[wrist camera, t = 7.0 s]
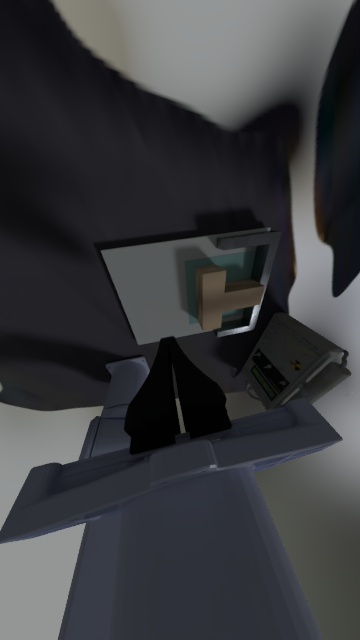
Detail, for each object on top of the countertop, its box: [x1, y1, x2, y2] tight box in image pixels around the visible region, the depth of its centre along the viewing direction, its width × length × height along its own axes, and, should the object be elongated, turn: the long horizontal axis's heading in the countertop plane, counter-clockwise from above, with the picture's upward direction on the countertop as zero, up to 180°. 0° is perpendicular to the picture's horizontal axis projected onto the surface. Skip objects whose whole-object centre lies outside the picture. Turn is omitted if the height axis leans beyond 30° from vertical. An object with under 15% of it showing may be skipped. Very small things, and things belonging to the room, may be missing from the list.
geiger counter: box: [241, 312, 351, 411], centre depth 30 cm, size 14×6×25 cm
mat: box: [101, 228, 271, 345], centre depth 22 cm, size 16×22×1 cm
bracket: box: [212, 231, 282, 337], centre depth 21 cm, size 15×7×2 cm, turn 6°
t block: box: [195, 264, 265, 331], centre depth 20 cm, size 9×9×4 cm
